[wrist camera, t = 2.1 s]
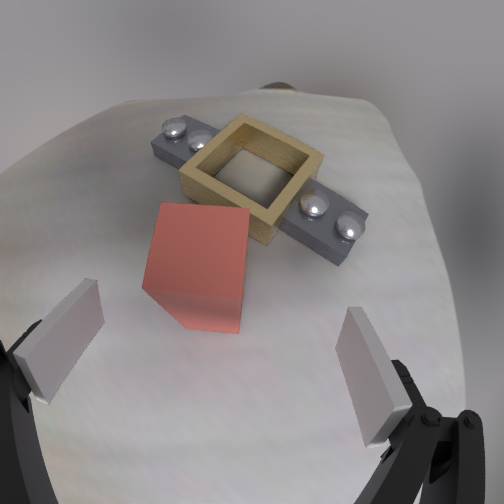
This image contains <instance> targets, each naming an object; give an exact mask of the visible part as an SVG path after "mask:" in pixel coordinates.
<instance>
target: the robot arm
mask: <svg viewBox="0 0 504 504" xmlns="http://www.w3.org/2000/svg"><path fill="white" fill-rule="evenodd" d="M104 323H105V322H104V318H103V313H102V307H101V302H100V296H99V290H98V284H97V280H91V279H85V280H83V281H82V282H81V283H80V284H79V285H78V286H77V287H76V288H75V289H74V290H73V291H72V292H71V293H70V294H69V295H68V296H67V297H66V298H64V299H63V300H62V301H61V302H60V303H59V304H58V305H57V306H56V307H55V308H54V309H53V310H52V311H51V312H50V313H49V314H48V315H47V316H46V317H45V318H44V319H43V320H39V321H37V322H36V323H34V324H32V325H31V326H30V327H29V328H28V329H27V332H25V333H24V334H23V335H22V337H20V338H19V339H18V340H17V341H16V342H15V343H14V344H13V346H12V347H11V348H10V349H9V350H8V351H7V352H6V351H5V349H4V346H3V344H2V342H1V340H0V504H58V501H57V499H56V496H55V494H54V491H53V488H52V485H51V482H50V479H49V476H48V473H47V470H46V467H45V463H44V460H43V456H42V452H41V449H40V445H39V440H38V436H37V431H36V427H35V422H34V416H33V411H32V404H31V399H30V397H29V393H30V392H31V390H32V392H33V394H34V396H35V397H36V399H37V400H39V401H42V402H44V403H46V404H48V405H49V404H50V402H51V400H52V399H53V397H54V396H55V394H56V393H57V391H58V389H59V388H60V386H61V385H62V383H63V382H64V380H65V379H66V377H67V376H68V374H69V373H70V371H71V370H72V368H73V367H74V365H75V364H76V362H77V361H78V359H79V358H80V356H81V355H82V353H83V352H84V351H85V349H86V348H87V346H88V345H89V343H90V342H91V341H92V339H93V338H94V336H95V335H96V334H97V332H98V331H99V330H100V328H101V327H102V325H103V324H104ZM335 349H336V352H337V355H338V358H339V361H340V364H341V367H342V370H343V373H344V377H345V380H346V383H347V386H348V389H349V393H350V396H351V399H352V402H353V406H354V409H355V412H356V416H357V419H358V423H359V426H360V430H361V433H362V437H363V440H364V444H365V447H366V448H370V447H376V446H382V445H383V444H384V443H385V441H386V440H387V439H388V438H389V441H390V444H391V445H390V446H389V447H388V449H387V450H386V451H385V452H384V453H383V454H382V455H381V457H380V458H382V460H381V461H380V463H379V465H378V467H377V468H376V470H375V472H374V473H373V475H372V477H371V478H370V480H369V482H368V483H367V485H366V486H365V488H364V489H363V491H362V493H361V494H360V496H359V497H358V498H357V500H356V501H355V503H354V504H413V503H414V501H415V499H416V496H417V494H418V492H419V490H420V488H421V485H422V483H423V486H422V492H421V498H420V503H419V504H484V501H485V450H484V436H483V427H482V421H481V418H480V417H479V415H478V414H477V413H475V412H474V411H471V410H464V411H462V412H461V413H460V414H459V416H458V417H457V418H451V417H442V415H441V414H440V413H439V411H438V410H436V409H434V408H432V407H427V406H426V404H425V402H424V400H423V398H422V396H421V394H420V392H419V390H418V388H417V386H416V385H415V383H414V381H413V379H412V377H410V373H409V371H408V370H407V368H406V366H404V365H403V364H402V363H401V362H400V361H399V360H390V358H389V356H388V354H387V352H386V350H385V349H384V347H383V345H382V343H381V341H380V339H379V337H378V336H377V334H376V332H375V330H374V328H373V326H372V325H371V323H370V321H369V319H368V317H367V316H366V314H365V312H364V310H363V309H362V307H348V310H347V313H346V316H345V320H344V323H343V326H342V329H341V332H340V336H339V339H338V342H337V345H336V348H335Z"/></svg>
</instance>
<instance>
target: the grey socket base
mask: <svg viewBox="0 0 504 504" xmlns="http://www.w3.org/2000/svg"><path fill="white" fill-rule="evenodd" d="M162 130H163V132H162V133H161V134H160V135H159V136H158V137H156V138H155V139H154V140H153V141H152V142H151V145H152V148H153V151H154V155H155V156H157V157H158V158H160V159H162V160H164V161H166V162H167V163H169V164H171V165H173V166H174V167H176V168H178V169H179V170H178V171H179V176H180V180H181V184H182V188H183V192H184V194H185V195H186V196H188V197H189V198H191V199H193V200H194V201H196V202H197V203H199V204H201V205H213V206H226V207H238V208H249V209H250V216H249V227H248V235H250V236H252V237H253V238H255V239H256V240H258V241H259V242H261V243H263V244H264V245H266V246H267V245H268V243H269V242H270V241H271V239H272V238H273V237H274V235H275V234H276V232H277V231H278V230H279V229H280V230H282V231H284V232H285V233H287V234H288V235H290V236H292V237H293V238H295V239H296V240H298V241H300V242H301V243H303V244H304V245H306V246H307V247H309V248H311V249H312V250H314V251H315V252H317V253H318V254H320V255H322V256H323V257H325V258H326V259H328V260H329V261H331V262H332V263H334V264H335V265H337V266H339V265H340V264H341V263H342V262H343V261H344V260H345V258H346V257H347V255H348V254H349V252H350V250H351V248H352V246H353V244H354V242H355V240H357V239H358V238H359V237H360V236H361V235H362V234H363V232H364V230H365V223H364V222H365V220H366V218H367V216H368V213H366V212H365V211H363V210H362V209H360V208H359V207H357V206H355V205H354V204H352V203H351V202H349V201H348V200H346V199H344V198H343V197H341V196H340V195H338V194H336V193H335V192H333V191H331V190H330V189H328V188H326V187H325V186H323V185H321V184H320V183H318V182H316V181H315V179H316V176H317V174H318V171H319V168H320V166H321V163H322V161H323V158H324V154H322V153H320V152H318V151H316V150H315V149H313V148H311V147H309V146H307V145H305V144H303V143H302V142H300V141H298V140H296V139H294V138H292V137H290V136H288V135H286V134H284V133H282V132H280V131H278V130H276V129H274V128H272V127H270V126H268V125H265V124H263V123H261V122H259V121H257V120H255V119H252V118H250V117H248V116H246V115H243V114H241V115H240V116H238V117H237V118H236V119H235V120H234V121H232V122H231V123H230V124H229V125H228V126H226V127H225V128H224V129H223V130H222V131H219V130H217V129H215V128H213V127H211V126H209V125H206V124H204V123H202V122H200V121H197V120H195V119H193V118H191V117H188V116H186V115H184V116H182V117H181V118H172V119H169V120H167V121H166V122H165V123H164V124H163V125H162ZM242 148H245V149H247V150H249V151H251V152H253V153H255V154H257V155H259V156H260V157H262V158H264V159H266V160H268V161H270V162H272V163H274V164H275V165H277V166H279V167H281V168H283V169H284V170H286V171H288V172H290V173H292V174H293V175H294V176H293V178H292V179H291V180H290V181H289V183H288V184H287V185H286V187H285V188H284V189H283V190H282V192H281V193H280V194H279V195H278V197H277V198H276V199H275V200H274V202H273V203H272V204H271V206H270V207H269V208H268V209H266V208H264V207H263V206H261V205H259V204H258V203H256V202H254V201H252V200H251V199H249V198H247V197H246V196H244V195H242V194H241V193H239V192H237V191H235V190H234V189H232V188H230V187H229V186H227V185H225V184H223V183H222V182H220V181H218V180H216V179H215V178H213V177H214V176H215V175H216V174H217V173H218V172H219V171H220V170H221V169H222V168H223V167H224V166H225V165H226V164H227V163H228V162H229V161H230V160H231V159H232V158H233V157H234V156H235V155H236V154H237V153H238V152H239V151H240V150H241V149H242Z"/></svg>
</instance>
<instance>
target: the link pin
mask: <svg viewBox="0 0 504 504" xmlns="http://www.w3.org/2000/svg"><path fill="white" fill-rule="evenodd" d="M249 216H250V209H249V208H238V207H226V206H213V205H199V204H184V203H168V202H161V205H160V209H159V213H158V217H157V221H156V225H155V229H154V233H153V237H152V242H151V246H150V251H149V255H148V260H147V265H146V269H145V274H144V280H143V285H142V289H143V290H144V291H145V292H147V293H148V294H149V295H150V296H151V297H152V298H153V299H154V300H155V301H156V302H157V303H158V304H159V305H161V306H162V307H163V308H164V309H165V310H166V311H167V312H168V313H169V314H171V315H172V316H173V317H174V318H175V319H176V320H177V321H179V322H180V323H181V324H182V325H183V326H184V327H185V328H189V329H197V330H206V331H215V332H225V333H236V334H239V326H240V316H241V307H242V297H243V285H244V273H245V262H246V250H247V239H248V227H249Z"/></svg>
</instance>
